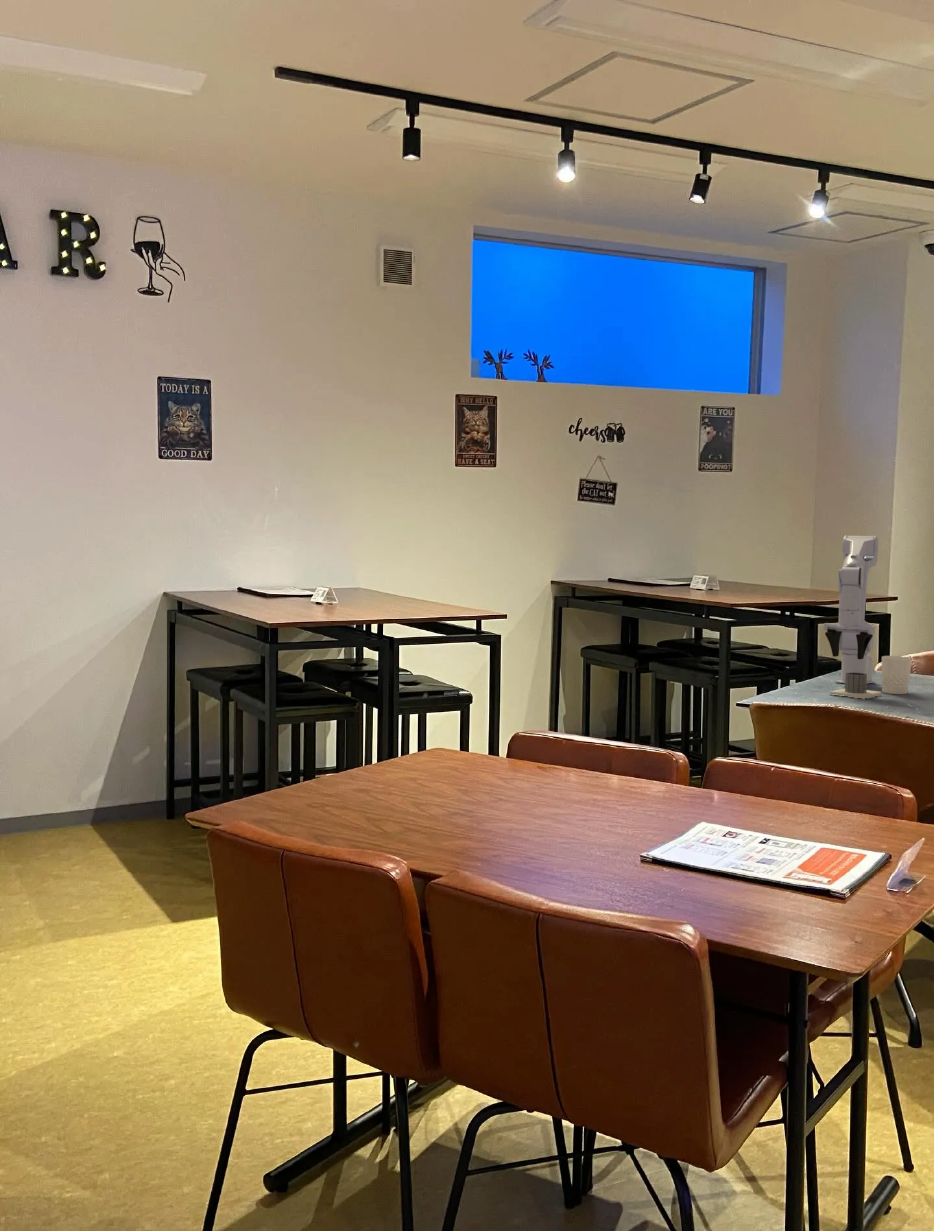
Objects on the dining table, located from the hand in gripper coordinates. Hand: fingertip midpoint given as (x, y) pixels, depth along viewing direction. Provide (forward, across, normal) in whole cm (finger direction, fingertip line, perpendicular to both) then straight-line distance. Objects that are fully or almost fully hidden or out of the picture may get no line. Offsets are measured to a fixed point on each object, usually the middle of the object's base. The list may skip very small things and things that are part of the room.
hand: (847, 657), depth 338 cm
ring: (+9, +5, -4) cm, 11 cm away
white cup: (+10, +10, +9) cm, 17 cm away
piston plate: (+10, +5, -4) cm, 12 cm away
